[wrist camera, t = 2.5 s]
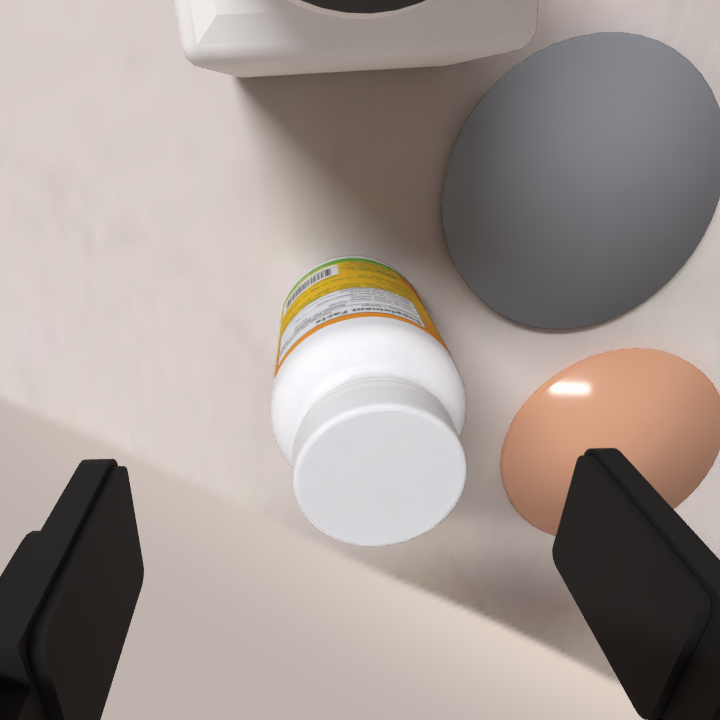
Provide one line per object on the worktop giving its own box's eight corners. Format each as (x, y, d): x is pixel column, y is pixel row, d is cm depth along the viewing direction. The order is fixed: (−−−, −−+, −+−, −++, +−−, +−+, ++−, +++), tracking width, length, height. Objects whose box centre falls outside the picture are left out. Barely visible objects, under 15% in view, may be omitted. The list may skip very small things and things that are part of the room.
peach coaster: (743, 344, 23) (756, 352, 23) (676, 524, 28) (686, 535, 27) (516, 345, 22) (524, 353, 22) (485, 531, 27) (489, 543, 26)
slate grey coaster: (750, 42, 18) (768, 40, 17) (666, 322, 22) (677, 329, 22) (456, 26, 17) (463, 23, 16) (427, 321, 21) (432, 328, 21)
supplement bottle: (404, 390, 22) (464, 577, 14) (273, 374, 22) (249, 563, 13) (435, 264, 20) (531, 393, 11) (290, 241, 19) (275, 361, 11)
